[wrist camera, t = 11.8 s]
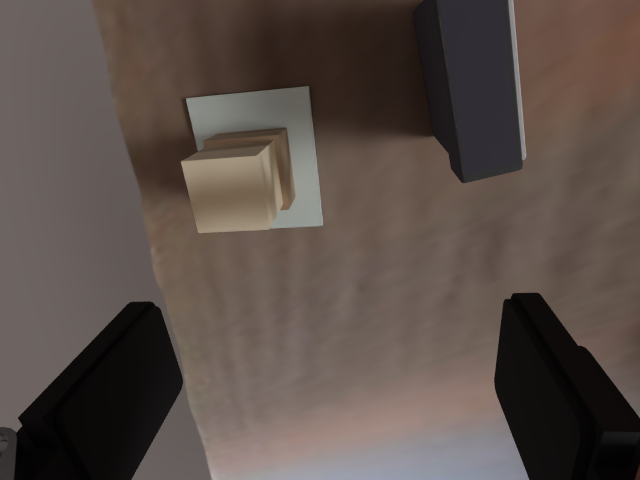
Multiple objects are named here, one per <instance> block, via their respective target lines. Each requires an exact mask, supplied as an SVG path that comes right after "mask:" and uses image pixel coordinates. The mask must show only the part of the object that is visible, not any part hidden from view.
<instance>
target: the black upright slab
mask: <svg viewBox="0 0 640 480" xmlns="http://www.w3.org/2000/svg"><path fill="white" fill-rule="evenodd" d="M413 18H414V23H415V29H416V35H417V40H418V46H419V52H420V58H421V63H422V69H423V75H424V80H425V86H426V92H427V98H428V103H429V109H430V115H431V120H432V126H433V132H434V136H435V138H436V139H437V140H438V141H439V143H440V144H441V145H442V146H443V147H444V148H445V150H446V151H447V152H448V153H449V159H450V165H451V169H452V171H453V172H454V173H455V175H456V176H457V177H458V178H459V180H460V181H461V182H462V183H467V182H471V181H476V180H480V179H484V178H488V177H493V176H497V175H501V174H505V173H509V172H513V171H517V170H521V169H522V167H523V160H524V159H526V148H525V136H524V125H523V113H522V101H521V89H520V77H519V65H518V54H517V42H516V30H515V18H514V6H513V0H424V1H423V2H422V3H421V4H420V5H419V6H418V7H417V8H416V9H415V10H414V11H413Z"/></svg>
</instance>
